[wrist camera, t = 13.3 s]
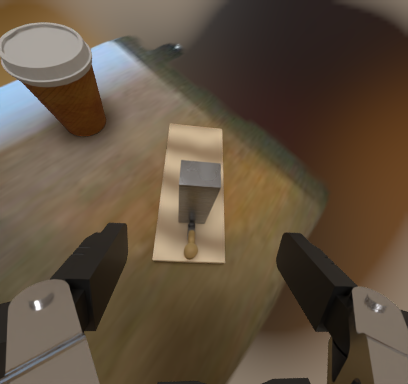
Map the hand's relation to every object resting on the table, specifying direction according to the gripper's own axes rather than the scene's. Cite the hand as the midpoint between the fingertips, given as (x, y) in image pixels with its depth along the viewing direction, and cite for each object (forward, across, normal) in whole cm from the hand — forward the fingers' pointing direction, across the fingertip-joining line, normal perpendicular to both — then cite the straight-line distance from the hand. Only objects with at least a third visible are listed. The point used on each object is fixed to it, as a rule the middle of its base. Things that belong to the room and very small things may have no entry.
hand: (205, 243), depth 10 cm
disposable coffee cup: (+28, +18, -4) cm, 34 cm away
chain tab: (+16, 0, +5) cm, 17 cm away
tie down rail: (+20, 0, +4) cm, 21 cm away
